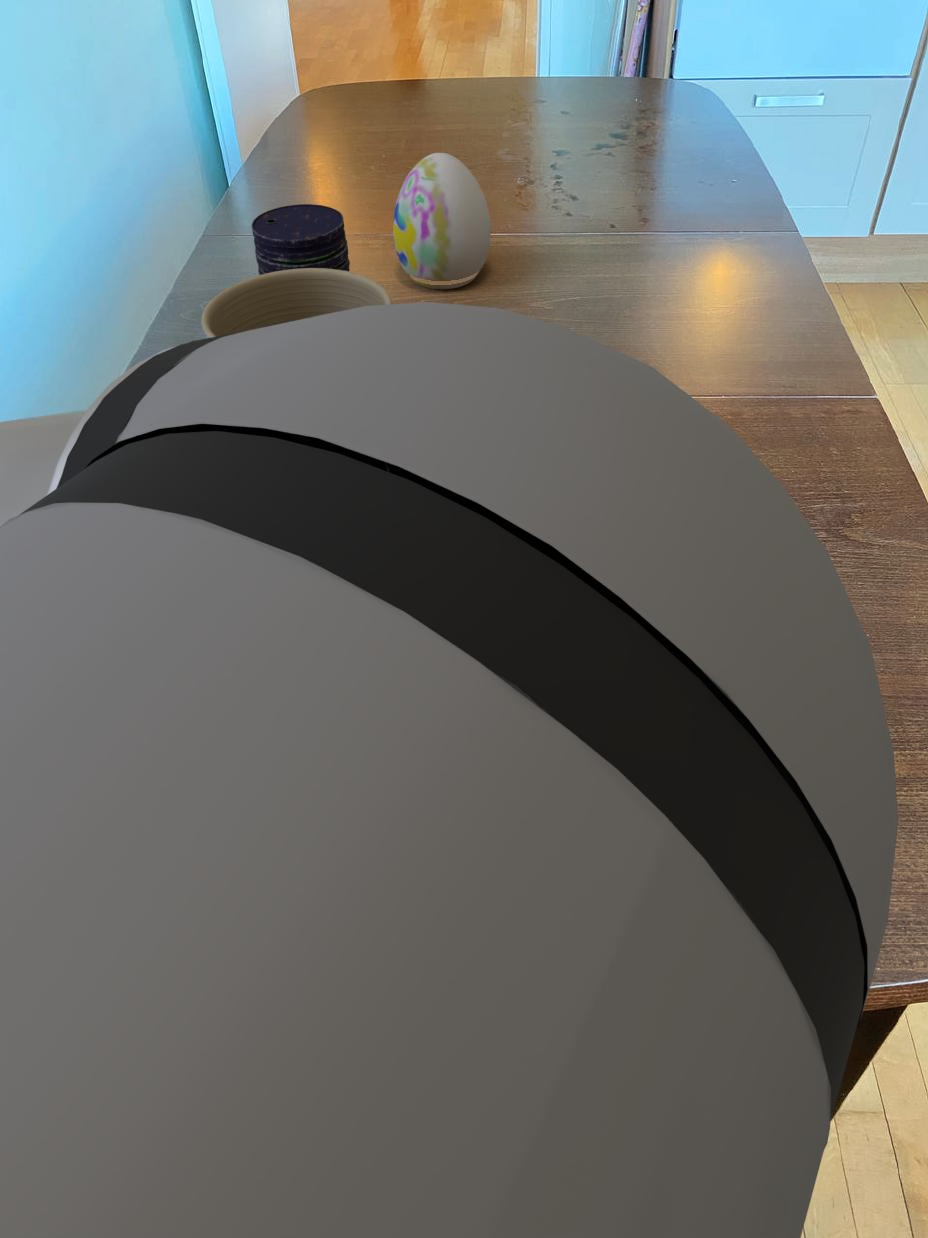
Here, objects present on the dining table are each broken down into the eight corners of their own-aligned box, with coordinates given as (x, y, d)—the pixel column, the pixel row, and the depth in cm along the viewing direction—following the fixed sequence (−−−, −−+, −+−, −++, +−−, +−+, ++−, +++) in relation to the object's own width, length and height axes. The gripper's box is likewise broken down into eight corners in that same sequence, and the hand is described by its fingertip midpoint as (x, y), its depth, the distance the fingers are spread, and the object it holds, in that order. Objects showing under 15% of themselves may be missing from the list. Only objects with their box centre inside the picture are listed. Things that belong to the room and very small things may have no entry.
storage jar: (366, 332, 113) (352, 204, 102) (351, 374, 106) (335, 241, 95) (284, 330, 114) (263, 203, 103) (264, 372, 107) (238, 239, 96)
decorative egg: (383, 268, 126) (372, 147, 115) (466, 249, 129) (463, 131, 119) (418, 305, 117) (411, 179, 107) (507, 284, 121) (507, 160, 111)
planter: (390, 398, 102) (377, 258, 91) (418, 489, 90) (407, 340, 79) (231, 419, 100) (199, 278, 89) (238, 516, 88) (202, 366, 77)
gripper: (-119, 776, 48) (327, 632, 54) (-120, 1008, 39) (411, 804, 45) (-195, 674, 42) (308, 529, 49) (-217, 916, 34) (399, 700, 40)
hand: (357, 661), depth 47 cm, fingers closed
